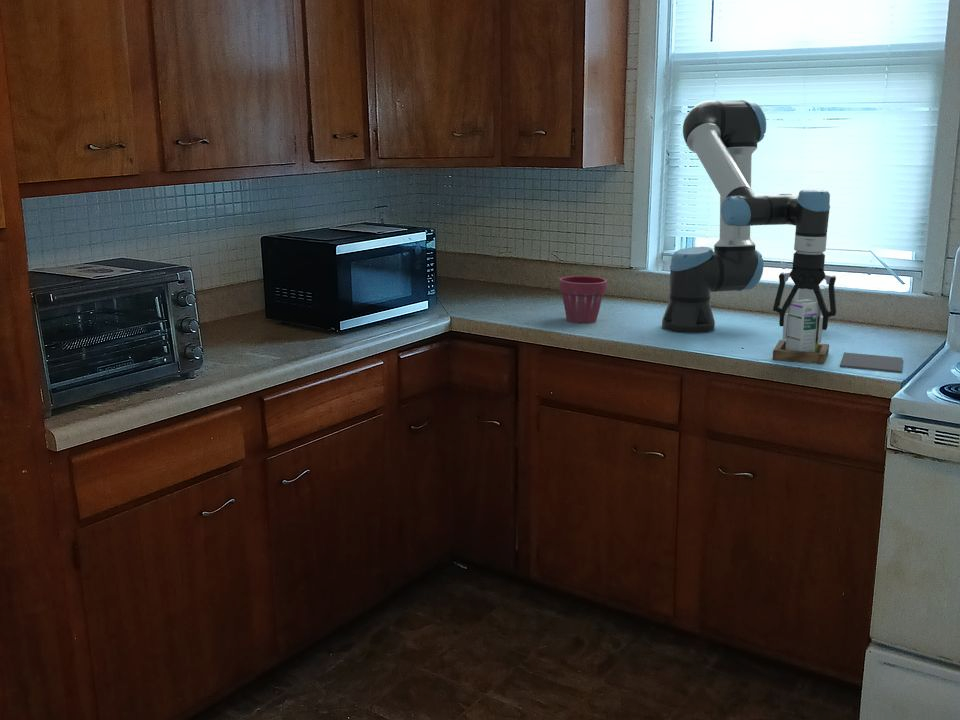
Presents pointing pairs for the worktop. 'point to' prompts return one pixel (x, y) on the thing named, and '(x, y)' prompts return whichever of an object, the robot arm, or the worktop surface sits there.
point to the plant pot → (582, 297)
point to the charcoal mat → (871, 362)
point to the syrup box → (803, 326)
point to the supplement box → (809, 294)
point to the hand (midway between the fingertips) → (801, 340)
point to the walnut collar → (800, 354)
